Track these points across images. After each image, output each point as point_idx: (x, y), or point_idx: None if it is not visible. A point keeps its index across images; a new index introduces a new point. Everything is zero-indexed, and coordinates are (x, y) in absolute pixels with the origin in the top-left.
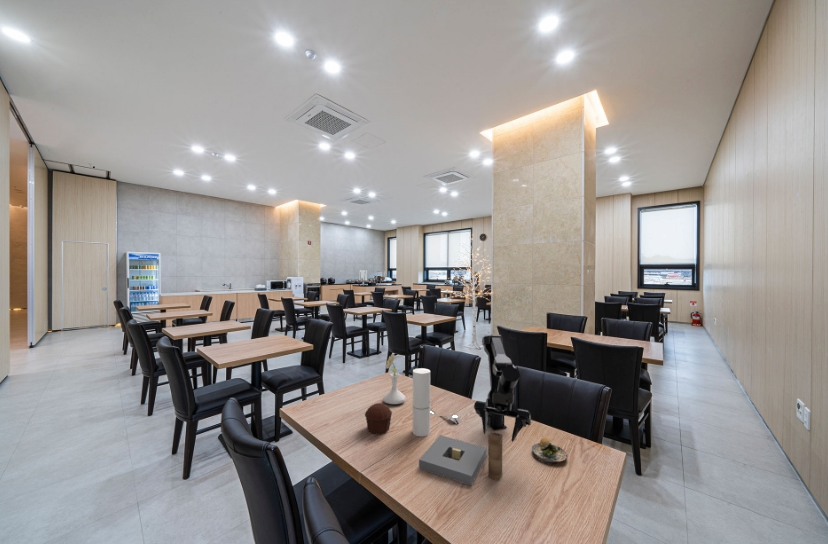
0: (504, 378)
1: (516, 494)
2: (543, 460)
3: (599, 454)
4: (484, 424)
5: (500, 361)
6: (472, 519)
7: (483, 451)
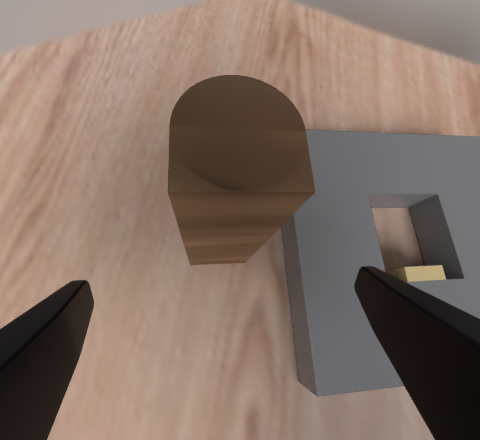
0: None
1: (117, 175)
2: None
3: None
4: (448, 315)
5: None
6: (220, 41)
7: (315, 337)
